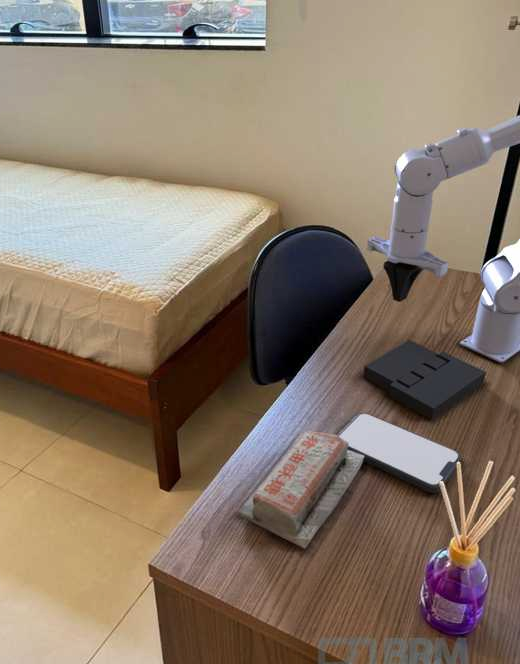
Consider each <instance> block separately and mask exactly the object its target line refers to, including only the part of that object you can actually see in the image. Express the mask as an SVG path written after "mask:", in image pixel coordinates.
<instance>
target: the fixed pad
mask: <svg viewBox="0 0 520 664" xmlns="http://www.w3.org/2000/svg"><path fill="white" fill-rule="evenodd" d="M437 357H438V358H441V359H443V360H445V361H447V364H445V365H444V366H442V367H441V368H439V369H438V370H436V371H435V370H433V369H431V368H429V367H427V366H425V365H423V364H422V365H421V366H419V367H417V368H416V369H414V370H413V371H412V374H414V375H415V376H417V377H419V378H421V381H419V382H418V383H416V384H415V385H413V386H412V387H410V388H407V387H405V386H404V385H402V384H400V383H398V382H396V381H395V382H394V383H392V384H391V385H390V391H388V397H390V398H391V399H393V400H394V401H396V402H398V403H400V404H401V405H403V406H405V407H407V408H409V409H411V410H412V411H414V412H416V413H417V414H418V415H421V416H422V417H425V418H426V419H428V420H429V421H433V420H435V419H436V418H437V417H439V416H440V415H442V414H443V413H445V412H446V411H447V410H449V409H450V408H451V407H453V406H454V405H455V404H457V403H458V402H459V401H461V400H462V399H464V398H466V397H467V396H469V394H471V393H472V392H474V391H475V390H476V389H478V388H479V387H480V386H482V385H484V384H485V383H484V382H485V379H486V375H487V371H486V370H483V369H480V368H478V367H476V366H475V365H472V364H470V363H468V362H466V361H463V360H461V359H460V358H458V357H456V356H453V355H451V354H449V353H447V352H445V351H441V352H439V353H438V356H437Z"/></svg>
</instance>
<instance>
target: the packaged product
mask: <svg viewBox="0 0 520 664" xmlns="http://www.w3.org/2000/svg"><path fill="white" fill-rule="evenodd" d="M337 435H338V434H334V433H329V432H328V433H327V432H319V431H315V430H305V431H304V432H301V433H300V435H299V436H298V437H297V439H295V441H294V442H293V443H292V444H291V446H290V447H289V448H288V450H287V451H286V452H285V453H284V454H283V456H282V457H281V458H280V460H279V461H278V462H277V463H276V465H274V467H273V468H272V469H271V470H270V472H269V473H268V475H267V477H266V478H264V479H263V481H262V482H261V483H260V484H259V485H258V487H257V488H256V489H255V491H254V492H253V493H251V495H250V497H249V498H247V500H246V502H245V503H244V504H243V505H241V508H240V509H239V510H238V515H239V516H240V517H243V518H244V519H246V520H248V521H249V522H251V523H253V524H255V525H257V526H259V527H261V528H263V529H264V530H266V531H269V532H271V533H273V534H275V535H276V536H278V537H281V538H283V539H285V540H286V541H289V542H290V543H293V544H294V545H296V546H299V547H301V548H302V549H304V550H306V548H307V547H308V545H309V544H310V542H311V541H312V539H313V538H314V536H315V535H316V533H317V532H318V531H319V529H320V528H321V527H322V526H323V524H324V523H325V521H326V520H327V519H328V518H329V516H330V515H331V513H332V512H333V511H334V509H335V508H336V507H337V505H338V504H339V502H340V501H341V499H342V497H343V495H344V494H345V493H346V491H347V489H348V488H349V486H350V485H351V483H352V482H353V480H354V478H355V477H356V475H357V473H358V472H359V470H360V469H361V466H362V465H363V463H364V461H363V459H364V455H361V454H359V453H356V452H353V451H350V450H347V449H348V445H349V444H348V442H347V441H345V440H343V439H341V438H340V437H339V436H337Z"/></svg>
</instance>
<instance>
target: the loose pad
mask: <svg viewBox="0 0 520 664" xmlns="http://www.w3.org/2000/svg"><path fill="white" fill-rule="evenodd" d="M438 354H439V353H438V352H436V351H434V350H432V349H430V348H428V347H426V346H424V345H422V344H419V343H417V342H415V341H413V340H411V339H408V340H406V341H404V342H402V343H400V344H399V345H397V346H396V347H394V348H392V349H390V350H389V351H387V352H385V353H384V354H382V355H381V356H379V357H377V358H375V359H374V360H372V361H371V362H368V363H367V364H365V365H364V367H363V375H362V377H363V378H364V379H366V380H368V381H369V382H371V383H373V384H375V385H376V386H378V387H380V388H382V389H383V390H385V391H387V392H389V391H390V385H391V384H392V383H394V382H395V381H396V382H398V383H400V384H402V385H404V386H405V387H407V388H410V387H412V386H413V385H415V384H416V383H418V382H419V381H421V378H419V377H417V376H415V375H414V374H412V371H413V370H414V369H416V368H417V367H419V366H421V365H422V364H423V365H425V366H427V367H429V368H431V369H433V370H435V371H436V370H438V369H439V368H441V367H442V366H444V365H445V364H447V361H445V360H443V359H441V358H438V357H437V356H438Z"/></svg>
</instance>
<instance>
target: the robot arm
mask: <svg viewBox="0 0 520 664" xmlns="http://www.w3.org/2000/svg"><path fill="white" fill-rule="evenodd" d="M456 133H457V134H455V135H453V136H450V137H447V138H445V139H442V140H440V141H438V142H435V143H432V142H428V143H427V144H424V148H412V149H409V150H407V151H405V152H404V153H403V154H401V156H400V157H399V159H398V160H397V162H396V164H395V165H394V174H395V176H396V178H397V179H398V182H396V183H397V184H396V190H395V197H394V201H393V210H392V216H391V226H390V232H389V233H390V234H389V239H386V238H380V237H377V236H373V237H371V238H370V239H367V244H366V245H367V246H366V251H369V252H376V253H379V254H382V255H385V256H386V261H384V262H383V265H382V268H383V269H384V271H385V273H386V276H387V277H388V280H389V284H390V288H391V294H392V300H393V301H396V302H398V303H401V302H403V301H405V300H406V299H407V298H408V296H409V293H410V291H411V288H412V286H413V285H414V283H415V281H416V280H417V278H418V277H419V275H421V273H422V271H423V270H425V271H427V272H430V273H432V274H433V275H434V276H435V277H437V278H441V277H443V276H445V275H446V274H448V269H449V262H447V261H444V260H443V259H441V258H439V257H438V256H436V255H434V254H433V253H431V252H429V251H428V250H427V249H426V246H427V241H428V239H427V238H428V232H429V226H430V218H431V212H432V207H433V195H434V191H435V190H436V189H437V188H438V187H439V185H441V183H442V182H444V181H447V180H449V179H451V178H454V177H456V176H459V175H463V174H464V173H466V172H469V171H471V170H473V169H477V168H480V167H482V166H484V165H486V164H488V162H489V161H490V160H491V158H492V156H493V155H494V153H496V152H498V151H502V150H504V149H507V148H510V147H512V146H513V147H514V146H516V145H518V144H520V114H519V115H517V116H515V117H513V118H510V119H508V120H506V121H504V122H502V123H500V124H498V125H496V126H493V127H491V128H489V129H487V130H485V129H484V130H483V129H480V128H479V127H471V128H467V127H466V126H463V127H461V128H458V129H457V130H456ZM480 279H481V282H482V284H484V289H483V291H482V293H481V294H480V297H479V302H478V306H477V311H476V314H475V315H476V316H475V320H474V324H473V329H472V334H471V335H469V336H468V337H465V338H464V339H462V340H461V341H460V343H459V345H461V346H462V347H465V348H467V349H469V350H472V351H474V352H476V353H478V354H480V355H482V356H485V357H487V358H489V359H491V360H493V361H496V362H498V363H502V364H503V363H504V362H506V361H507V360H509V359H510V358H511V357H512V356H513V357H514V355H515V354H517V353H519V352H520V239H518V241H517V242H516V243H514V244H511V245H508V246H505V247H504V248H503V249H502V250H501V251H500V252H499V253H498V254H497V255H496V256H495V257H493V258H491V259H489V260H488V261H487V262H486V263H485V264H484V265H483V266H482V268H481V271H480Z"/></svg>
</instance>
